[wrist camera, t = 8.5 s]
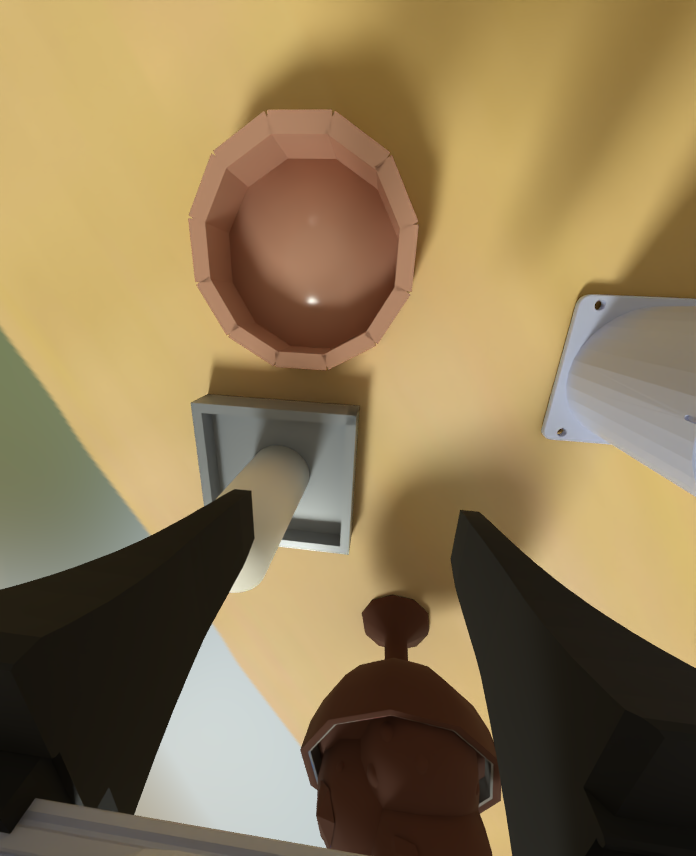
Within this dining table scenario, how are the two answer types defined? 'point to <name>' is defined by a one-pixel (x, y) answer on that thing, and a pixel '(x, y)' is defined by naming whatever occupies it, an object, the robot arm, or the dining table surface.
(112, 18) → the dining table surface
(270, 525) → the peg
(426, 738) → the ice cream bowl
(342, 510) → the tray
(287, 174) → the terracotta bowl
